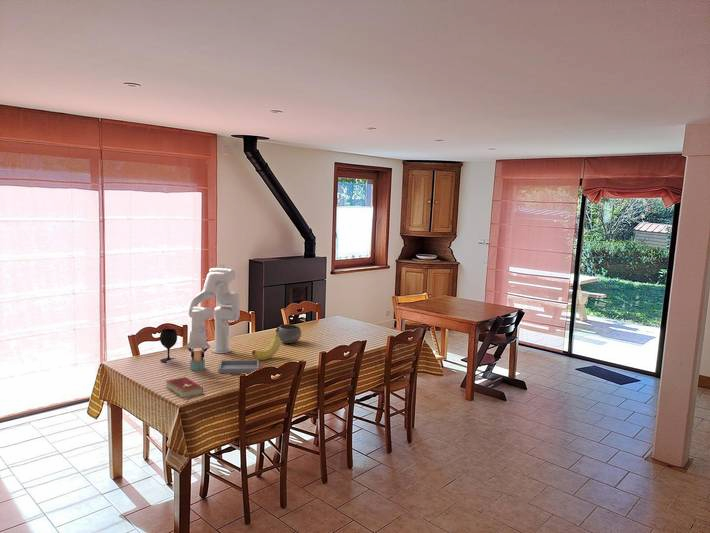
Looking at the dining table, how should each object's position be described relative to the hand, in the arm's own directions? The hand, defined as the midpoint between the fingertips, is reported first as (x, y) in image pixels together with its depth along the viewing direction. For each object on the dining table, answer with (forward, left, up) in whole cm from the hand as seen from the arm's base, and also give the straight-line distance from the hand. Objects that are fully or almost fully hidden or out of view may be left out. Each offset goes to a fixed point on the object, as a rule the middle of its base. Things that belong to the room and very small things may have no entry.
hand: (197, 358), depth 328 cm
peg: (0, 0, -6) cm, 6 cm away
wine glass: (-20, -20, -8) cm, 29 cm away
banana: (-23, +42, -8) cm, 49 cm away
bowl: (-64, +60, -8) cm, 88 cm away
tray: (0, +25, -7) cm, 26 cm away
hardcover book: (+35, -4, -8) cm, 36 cm away
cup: (0, 0, -7) cm, 7 cm away
